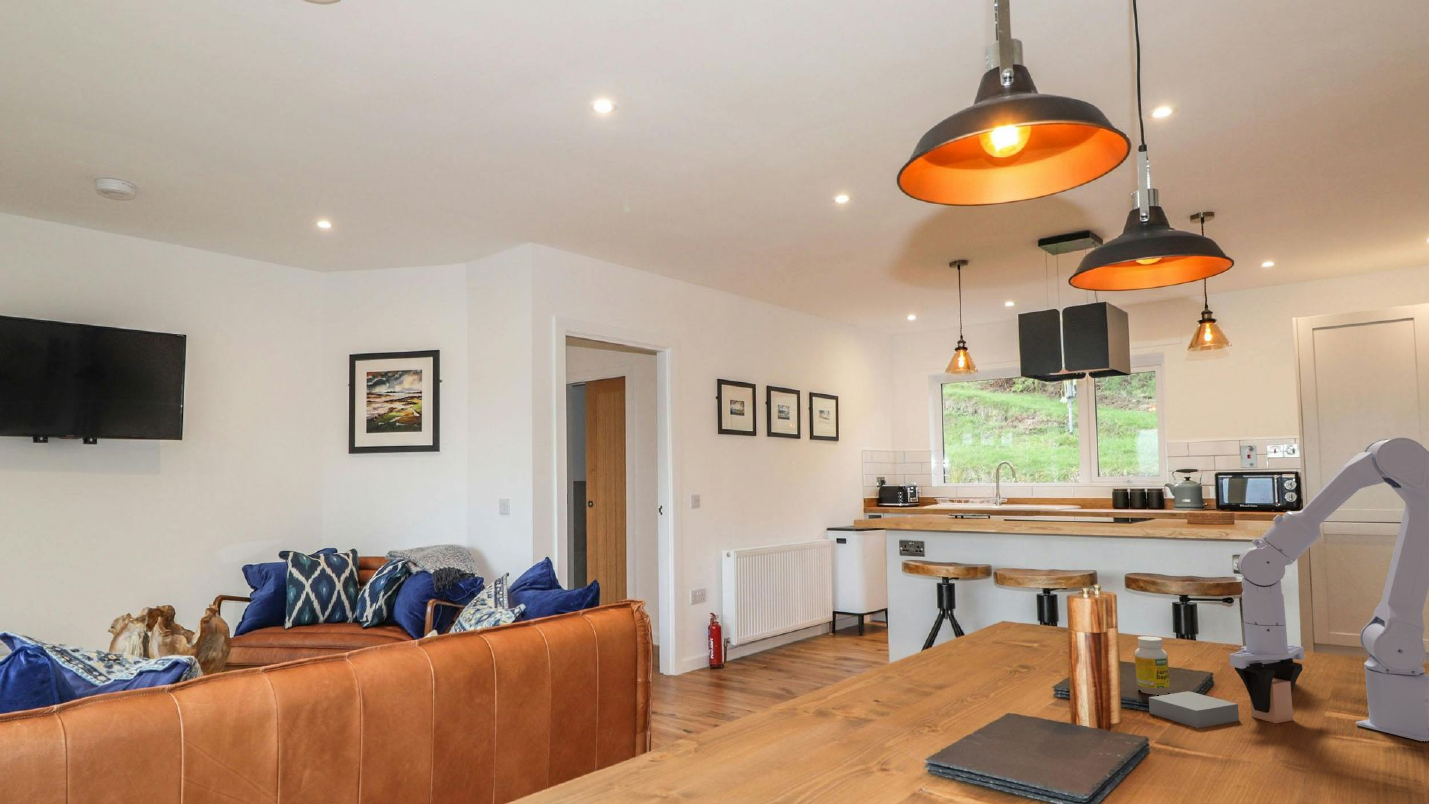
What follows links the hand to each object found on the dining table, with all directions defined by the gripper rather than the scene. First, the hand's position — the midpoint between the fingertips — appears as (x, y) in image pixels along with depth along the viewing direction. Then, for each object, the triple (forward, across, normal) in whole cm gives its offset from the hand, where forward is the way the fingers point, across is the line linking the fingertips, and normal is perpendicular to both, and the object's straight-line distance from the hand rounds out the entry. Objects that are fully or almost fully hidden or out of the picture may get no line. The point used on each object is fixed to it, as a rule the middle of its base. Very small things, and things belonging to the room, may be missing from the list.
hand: (1271, 709), depth 136 cm
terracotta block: (+1, 0, 0) cm, 1 cm away
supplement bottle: (+2, +3, -20) cm, 20 cm away
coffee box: (+2, -21, -16) cm, 26 cm away
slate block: (+2, +10, -6) cm, 12 cm away
